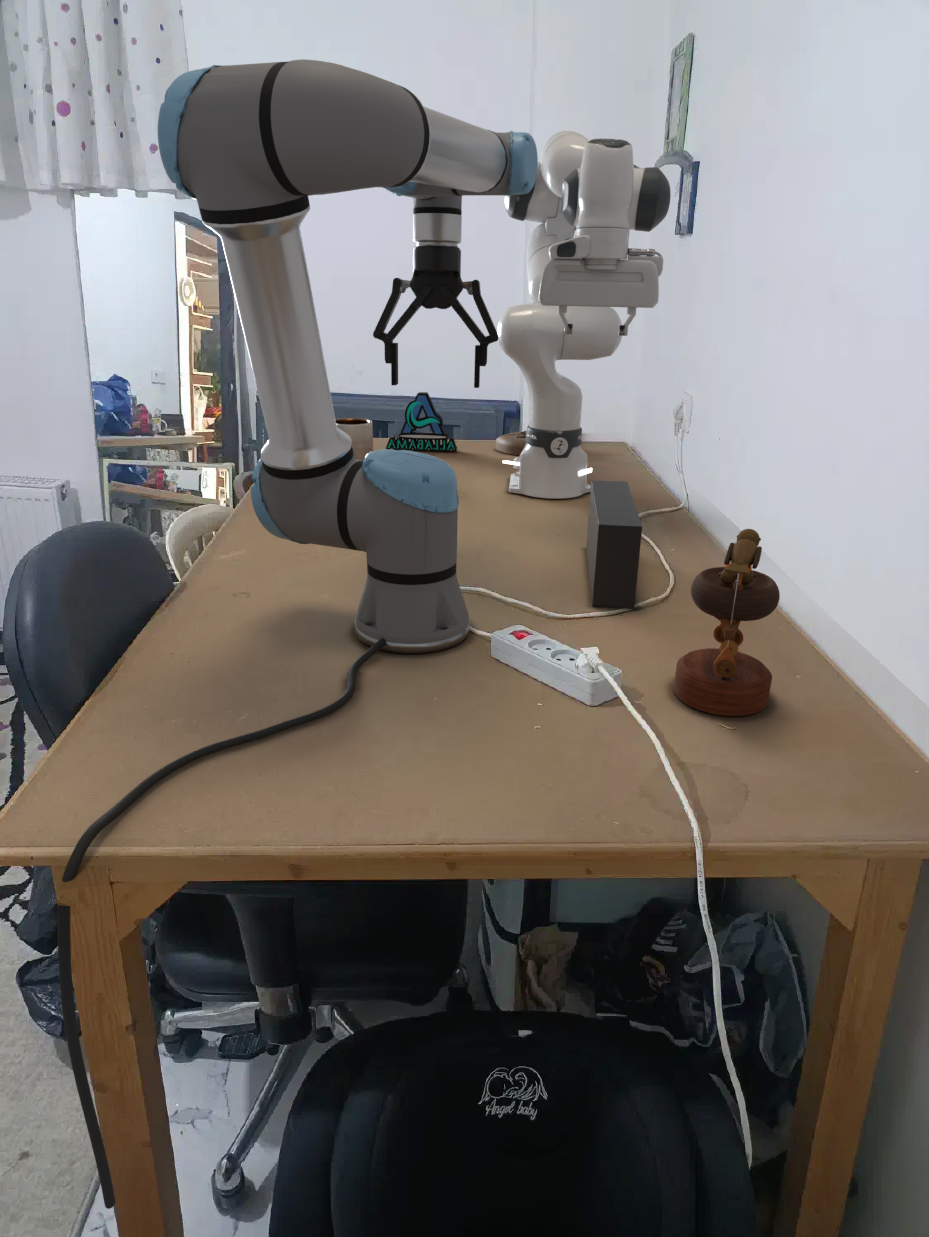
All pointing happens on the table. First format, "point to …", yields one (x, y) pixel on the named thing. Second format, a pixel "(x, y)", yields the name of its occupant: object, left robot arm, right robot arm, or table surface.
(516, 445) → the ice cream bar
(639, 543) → the box
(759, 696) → the music box
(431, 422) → the decorative sign
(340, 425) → the planter
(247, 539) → the table surface
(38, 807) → the table surface
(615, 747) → the table surface
